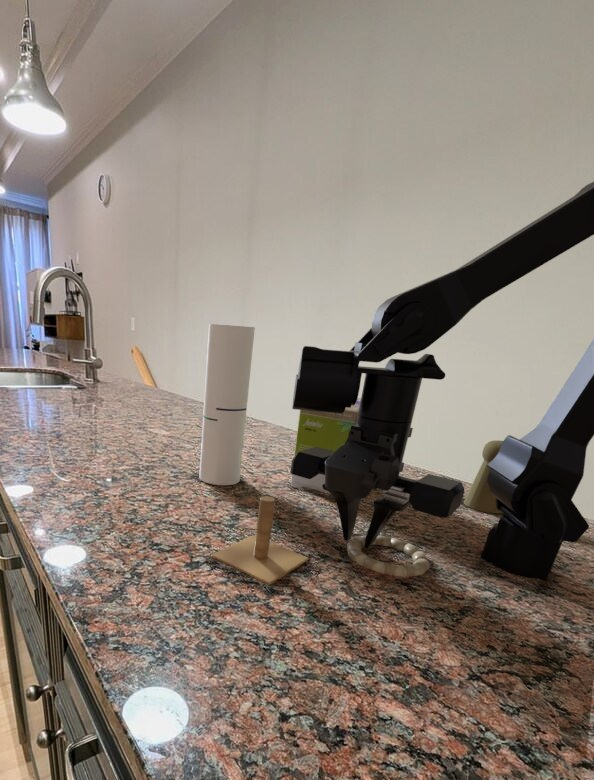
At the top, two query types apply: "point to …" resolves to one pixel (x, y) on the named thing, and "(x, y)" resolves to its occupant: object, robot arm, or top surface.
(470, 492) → the game pawn
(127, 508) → the top surface
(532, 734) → the top surface
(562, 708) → the top surface
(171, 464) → the top surface
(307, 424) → the tea box
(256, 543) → the post
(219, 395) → the cylindrical container
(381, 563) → the bracelet
